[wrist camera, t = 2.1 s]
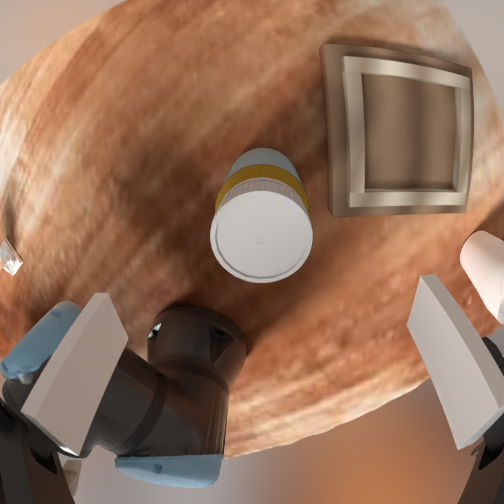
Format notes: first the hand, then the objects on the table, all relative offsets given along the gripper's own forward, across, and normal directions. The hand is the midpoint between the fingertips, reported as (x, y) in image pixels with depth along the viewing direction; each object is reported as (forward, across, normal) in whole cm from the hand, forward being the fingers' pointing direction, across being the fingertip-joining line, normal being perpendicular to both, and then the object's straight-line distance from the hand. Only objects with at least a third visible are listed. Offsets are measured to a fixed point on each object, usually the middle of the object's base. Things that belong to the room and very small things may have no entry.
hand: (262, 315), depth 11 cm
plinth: (+22, +16, +5) cm, 27 cm away
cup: (+22, +31, -11) cm, 39 cm away
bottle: (+22, 0, 0) cm, 22 cm away
